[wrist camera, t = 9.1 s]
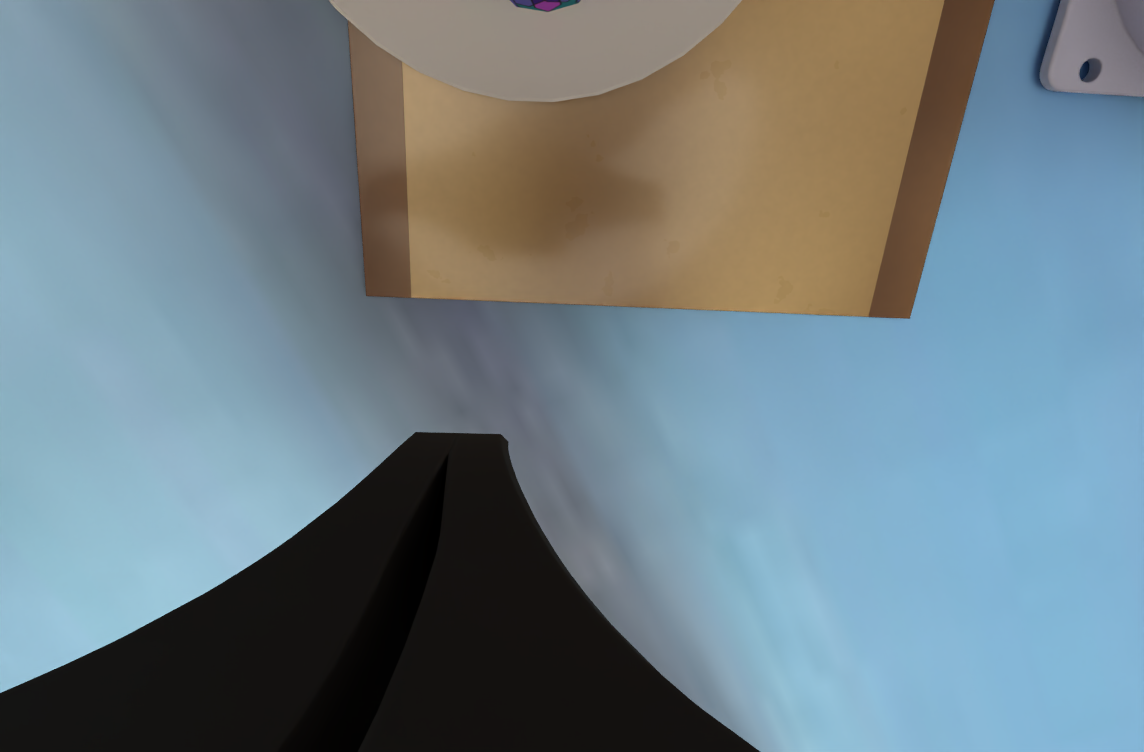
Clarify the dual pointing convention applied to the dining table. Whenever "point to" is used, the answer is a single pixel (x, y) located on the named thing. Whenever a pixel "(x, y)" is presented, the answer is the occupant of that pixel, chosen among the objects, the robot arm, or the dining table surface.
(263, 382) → the dining table surface
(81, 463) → the dining table surface
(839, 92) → the placemat
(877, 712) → the dining table surface
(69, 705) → the robot arm
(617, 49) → the pudding
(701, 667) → the dining table surface
